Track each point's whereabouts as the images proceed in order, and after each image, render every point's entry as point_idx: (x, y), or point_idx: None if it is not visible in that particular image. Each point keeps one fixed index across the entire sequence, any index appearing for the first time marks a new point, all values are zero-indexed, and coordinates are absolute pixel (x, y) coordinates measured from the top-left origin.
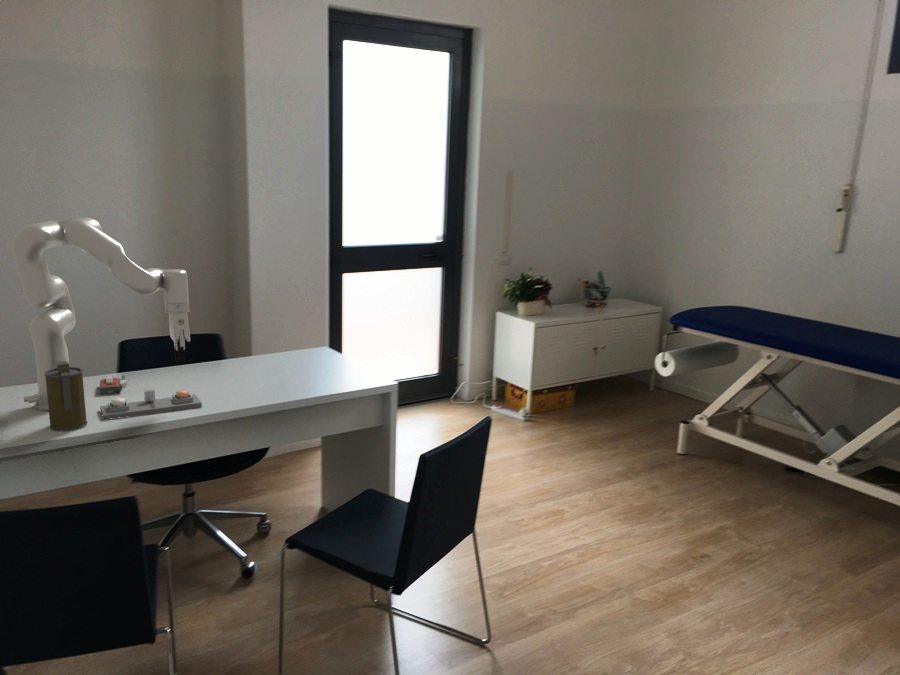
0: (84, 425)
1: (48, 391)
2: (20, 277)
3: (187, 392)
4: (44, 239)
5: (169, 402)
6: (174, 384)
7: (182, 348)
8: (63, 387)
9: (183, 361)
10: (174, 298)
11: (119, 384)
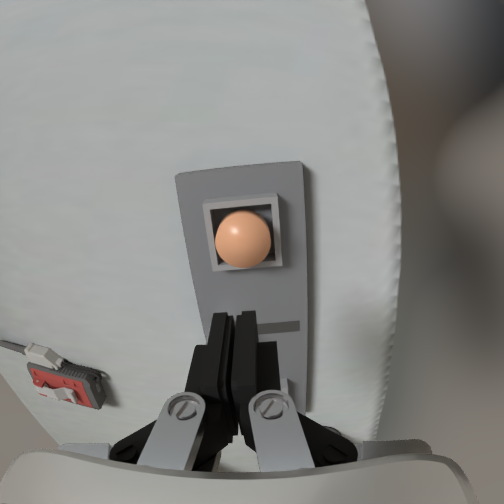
0: (330, 429)
1: None
2: None
3: (260, 223)
4: None
5: (253, 277)
6: (22, 233)
7: (313, 428)
8: None
9: (256, 323)
10: None
11: (65, 374)
